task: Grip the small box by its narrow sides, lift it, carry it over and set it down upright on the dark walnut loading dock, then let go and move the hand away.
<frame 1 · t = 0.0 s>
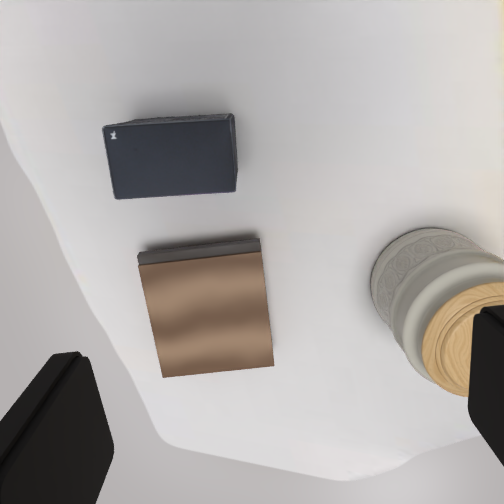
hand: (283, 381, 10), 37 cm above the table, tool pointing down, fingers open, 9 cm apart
jar: (422, 277, 50), on the table
small box: (187, 148, 44), on the table
dock: (212, 302, 50), on the table
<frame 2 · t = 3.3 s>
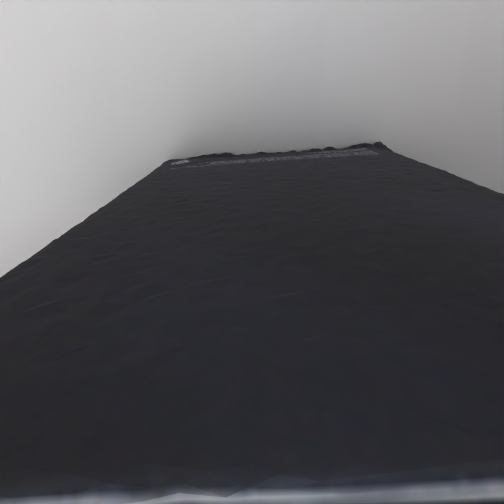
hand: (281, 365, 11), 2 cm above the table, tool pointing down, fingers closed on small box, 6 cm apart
small box: (275, 320, 13), on the table, touching gripper
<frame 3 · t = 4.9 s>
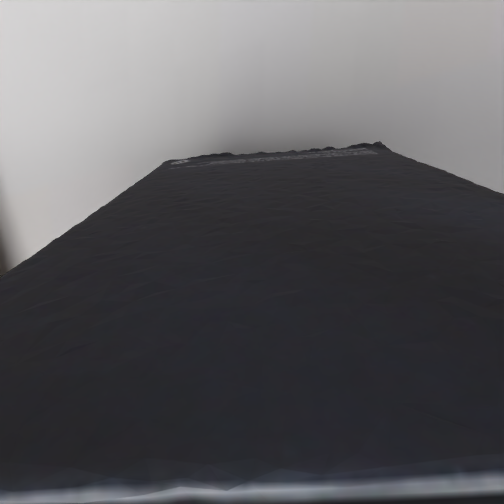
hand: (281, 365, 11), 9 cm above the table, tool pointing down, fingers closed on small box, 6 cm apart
small box: (275, 319, 13), point 6 cm above the table, touching gripper
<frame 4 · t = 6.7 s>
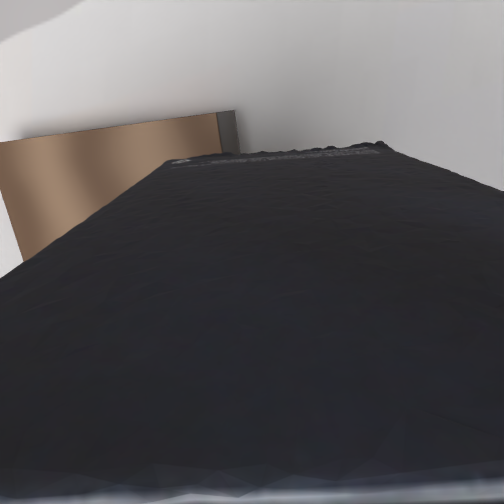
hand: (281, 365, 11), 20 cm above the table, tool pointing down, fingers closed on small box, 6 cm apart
small box: (276, 319, 13), point 18 cm above the table, touching gripper
dock: (140, 218, 31), on the table
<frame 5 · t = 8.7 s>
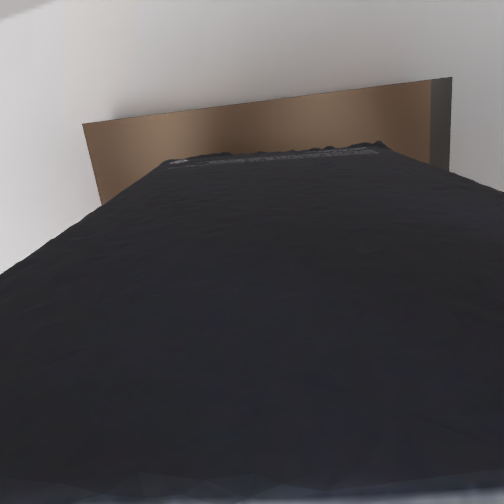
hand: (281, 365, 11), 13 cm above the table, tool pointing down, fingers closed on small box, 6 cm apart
small box: (275, 320, 13), point 10 cm above the table, touching gripper
dock: (267, 229, 23), on the table
when the fingers open (7 cm above the table, at t = 10.2 s): small box stays where it is, resting on dock.
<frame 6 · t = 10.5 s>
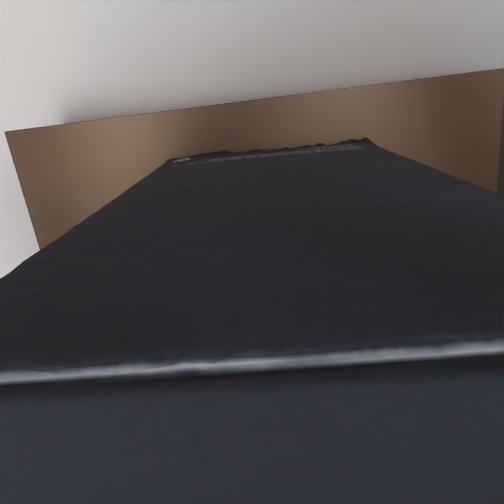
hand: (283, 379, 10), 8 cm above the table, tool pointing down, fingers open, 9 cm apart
small box: (274, 307, 14), point 4 cm above the table, touching dock
dock: (268, 265, 18), on the table
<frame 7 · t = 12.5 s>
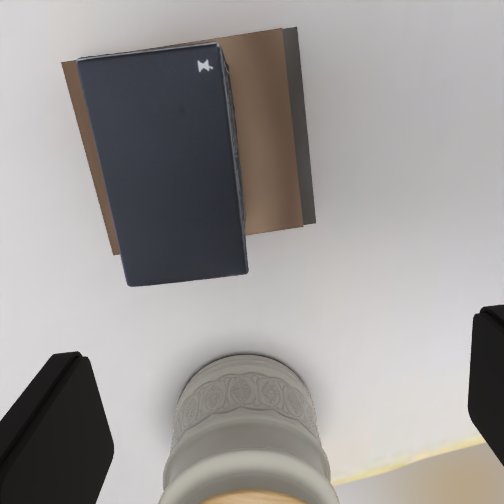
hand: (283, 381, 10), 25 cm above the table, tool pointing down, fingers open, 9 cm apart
jar: (244, 407, 41), on the table
small box: (191, 150, 29), point 4 cm above the table, touching dock
dock: (196, 145, 32), on the table
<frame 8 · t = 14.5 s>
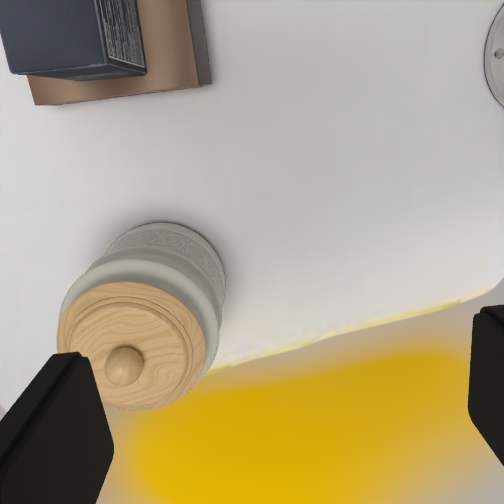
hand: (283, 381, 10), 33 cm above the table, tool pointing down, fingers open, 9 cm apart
jar: (166, 276, 46), on the table
small box: (98, 8, 33), point 4 cm above the table, touching dock
dock: (113, 17, 37), on the table
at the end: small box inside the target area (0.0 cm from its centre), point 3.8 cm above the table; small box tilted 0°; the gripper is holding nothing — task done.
